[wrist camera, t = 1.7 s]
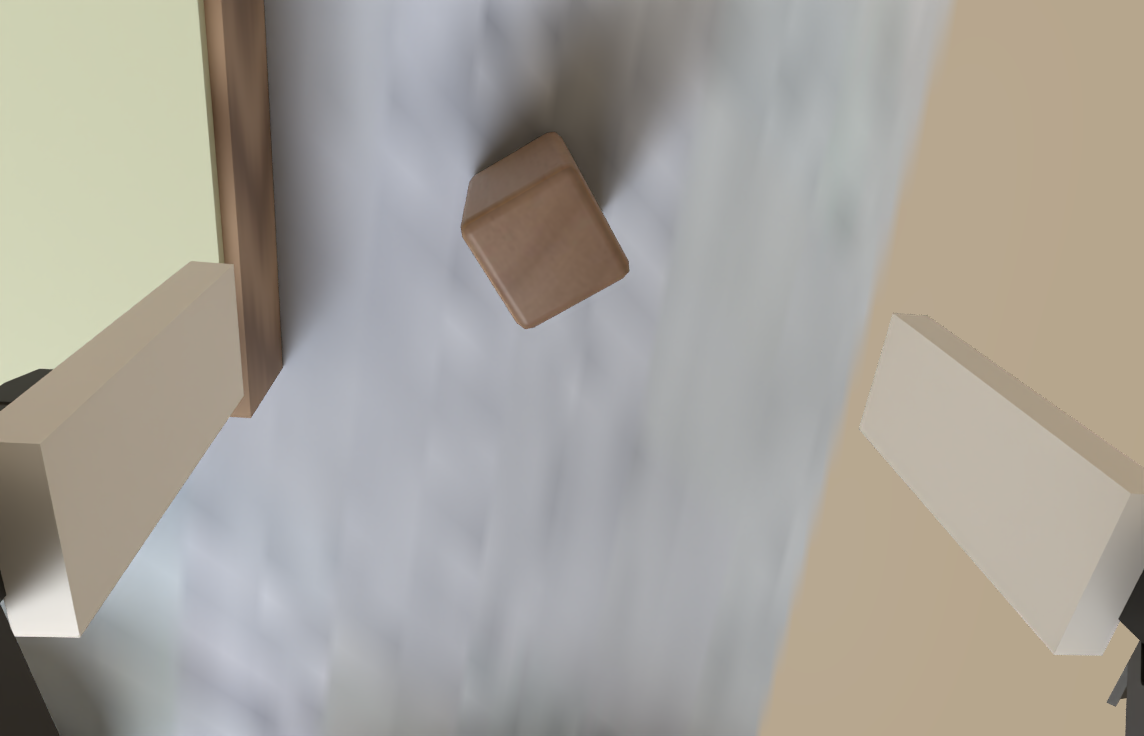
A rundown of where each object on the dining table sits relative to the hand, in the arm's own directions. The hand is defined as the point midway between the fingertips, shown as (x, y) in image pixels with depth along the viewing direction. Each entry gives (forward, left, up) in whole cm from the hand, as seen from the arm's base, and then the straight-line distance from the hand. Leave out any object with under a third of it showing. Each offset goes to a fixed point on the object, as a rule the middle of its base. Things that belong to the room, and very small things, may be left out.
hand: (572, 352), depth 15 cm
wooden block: (0, 0, -16) cm, 16 cm away
